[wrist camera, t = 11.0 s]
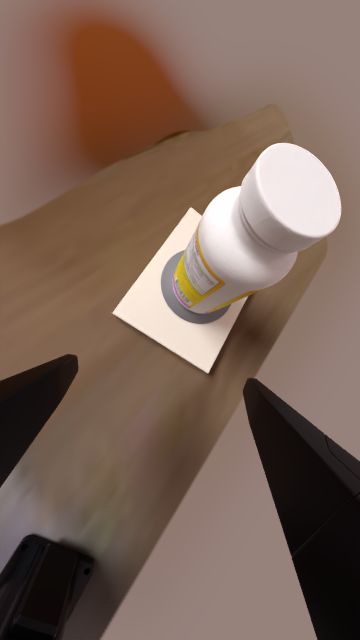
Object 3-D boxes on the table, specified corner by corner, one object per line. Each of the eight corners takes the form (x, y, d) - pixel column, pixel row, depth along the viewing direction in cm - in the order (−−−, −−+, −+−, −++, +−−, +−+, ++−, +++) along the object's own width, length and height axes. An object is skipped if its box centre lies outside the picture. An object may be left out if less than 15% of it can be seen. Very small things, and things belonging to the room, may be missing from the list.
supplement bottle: (230, 272, 21) (363, 170, 9) (217, 322, 20) (355, 284, 7) (180, 250, 20) (253, 94, 8) (162, 302, 18) (218, 216, 6)
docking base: (203, 371, 20) (208, 373, 19) (113, 314, 18) (112, 312, 17) (257, 269, 24) (264, 264, 23) (187, 214, 22) (191, 206, 21)
